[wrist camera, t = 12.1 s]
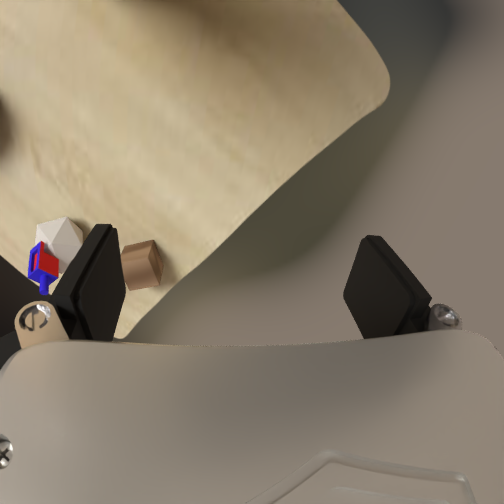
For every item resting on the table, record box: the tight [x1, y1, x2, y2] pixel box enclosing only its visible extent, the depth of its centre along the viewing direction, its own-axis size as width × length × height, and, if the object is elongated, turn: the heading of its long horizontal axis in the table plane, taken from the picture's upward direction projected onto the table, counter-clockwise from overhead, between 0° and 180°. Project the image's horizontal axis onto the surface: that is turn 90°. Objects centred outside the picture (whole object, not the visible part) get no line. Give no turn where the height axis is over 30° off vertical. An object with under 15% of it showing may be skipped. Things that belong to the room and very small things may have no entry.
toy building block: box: [28, 241, 59, 295], centre depth 33 cm, size 3×4×7 cm
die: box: [35, 217, 83, 274], centre depth 38 cm, size 8×9×10 cm
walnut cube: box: [121, 240, 163, 291], centre depth 43 cm, size 5×5×5 cm
